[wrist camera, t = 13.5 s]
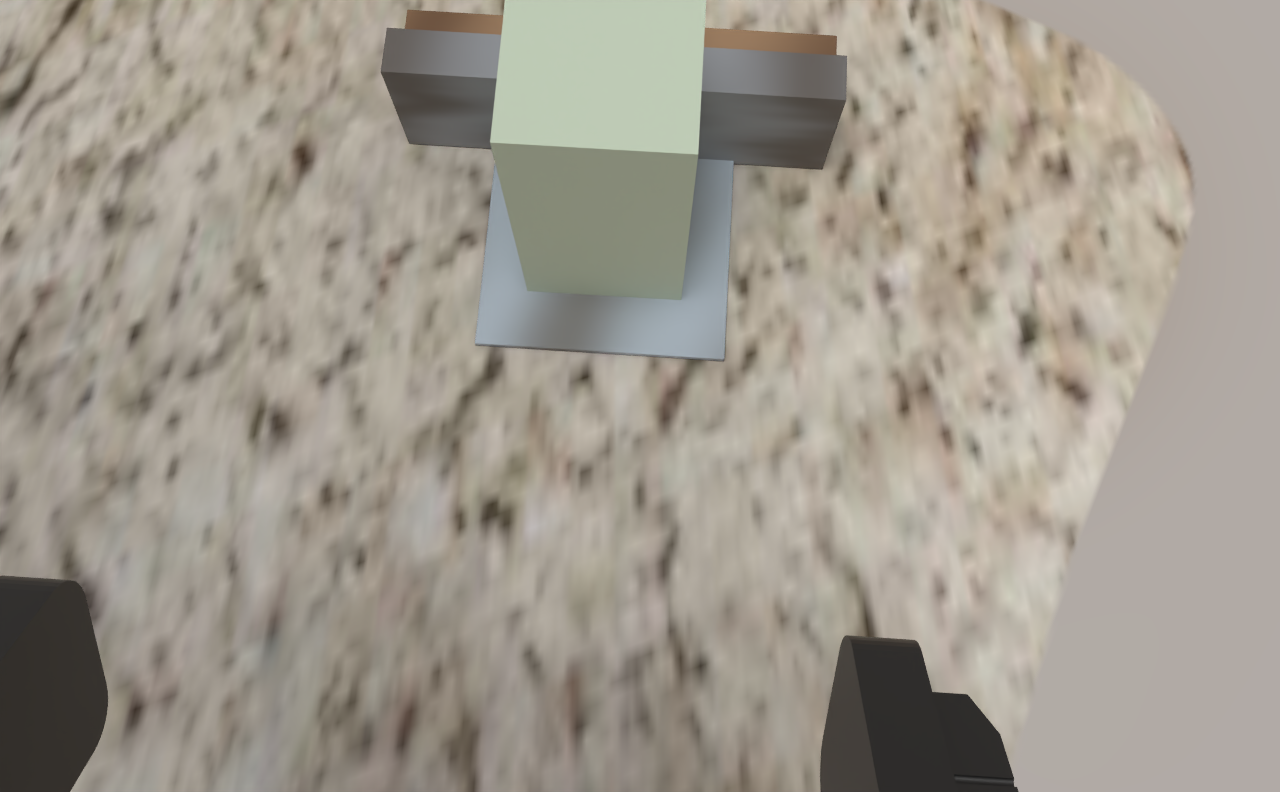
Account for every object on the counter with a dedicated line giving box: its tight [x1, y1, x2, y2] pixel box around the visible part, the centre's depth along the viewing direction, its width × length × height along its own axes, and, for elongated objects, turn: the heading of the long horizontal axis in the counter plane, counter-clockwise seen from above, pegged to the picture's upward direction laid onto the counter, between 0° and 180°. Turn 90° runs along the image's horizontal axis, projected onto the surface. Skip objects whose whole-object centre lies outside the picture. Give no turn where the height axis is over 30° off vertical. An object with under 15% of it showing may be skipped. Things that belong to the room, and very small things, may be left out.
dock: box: [381, 10, 847, 361], centre depth 36 cm, size 14×10×4 cm
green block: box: [490, 0, 706, 300], centre depth 33 cm, size 5×5×10 cm
